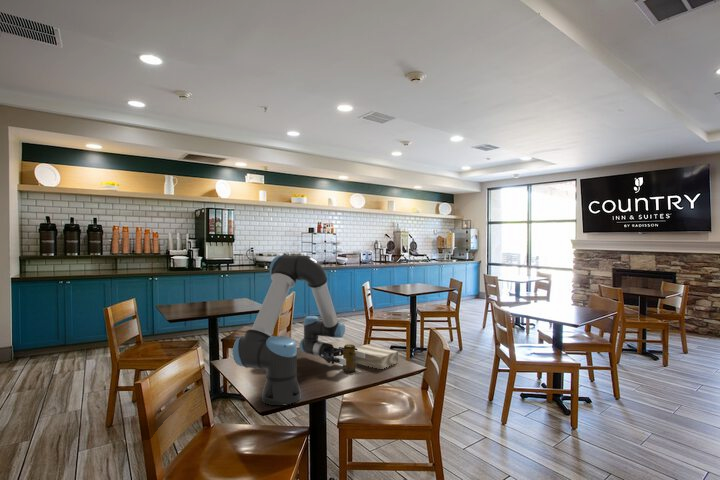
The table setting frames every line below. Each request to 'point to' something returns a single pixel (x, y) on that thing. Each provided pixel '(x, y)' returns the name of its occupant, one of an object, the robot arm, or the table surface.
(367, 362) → the block
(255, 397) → the table surface
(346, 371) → the condiment
